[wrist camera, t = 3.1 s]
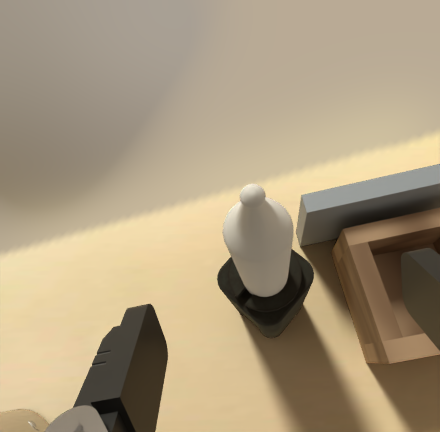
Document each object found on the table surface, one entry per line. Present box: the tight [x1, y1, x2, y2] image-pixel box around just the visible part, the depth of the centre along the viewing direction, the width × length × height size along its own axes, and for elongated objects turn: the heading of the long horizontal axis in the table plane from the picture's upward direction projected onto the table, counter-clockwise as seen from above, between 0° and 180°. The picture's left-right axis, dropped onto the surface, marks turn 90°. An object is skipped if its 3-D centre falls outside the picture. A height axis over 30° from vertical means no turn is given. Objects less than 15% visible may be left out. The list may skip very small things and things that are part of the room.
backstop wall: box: [296, 164, 440, 247], centre depth 31 cm, size 16×2×9 cm, turn 100°
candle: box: [217, 184, 314, 338], centre depth 22 cm, size 5×5×25 cm
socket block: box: [331, 208, 440, 364], centre depth 29 cm, size 10×10×7 cm
